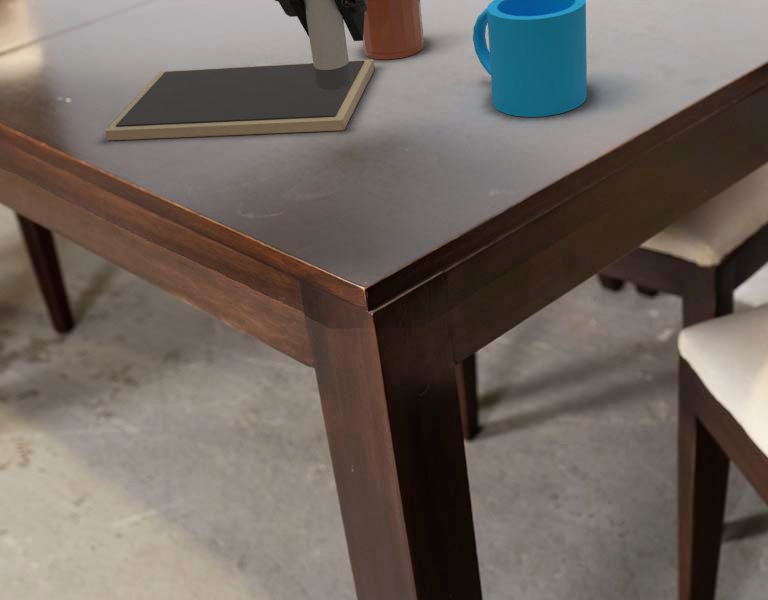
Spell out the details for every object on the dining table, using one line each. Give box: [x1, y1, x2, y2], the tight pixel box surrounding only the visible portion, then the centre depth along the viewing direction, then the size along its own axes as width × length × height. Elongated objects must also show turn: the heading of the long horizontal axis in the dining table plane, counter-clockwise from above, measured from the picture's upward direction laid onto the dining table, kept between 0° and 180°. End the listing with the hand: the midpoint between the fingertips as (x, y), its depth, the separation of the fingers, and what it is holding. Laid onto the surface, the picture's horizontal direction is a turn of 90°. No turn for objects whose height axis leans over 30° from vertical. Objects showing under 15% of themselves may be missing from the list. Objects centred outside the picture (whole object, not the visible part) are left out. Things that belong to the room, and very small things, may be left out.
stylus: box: [304, 0, 351, 90], centre depth 85 cm, size 3×3×12 cm
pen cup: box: [362, 0, 425, 61], centre depth 109 cm, size 6×6×8 cm
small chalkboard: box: [105, 58, 376, 141], centre depth 103 cm, size 22×15×1 cm
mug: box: [472, 0, 588, 118], centre depth 95 cm, size 12×8×8 cm
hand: (338, 26), depth 89 cm, fingers closed on stylus, 3 cm apart
